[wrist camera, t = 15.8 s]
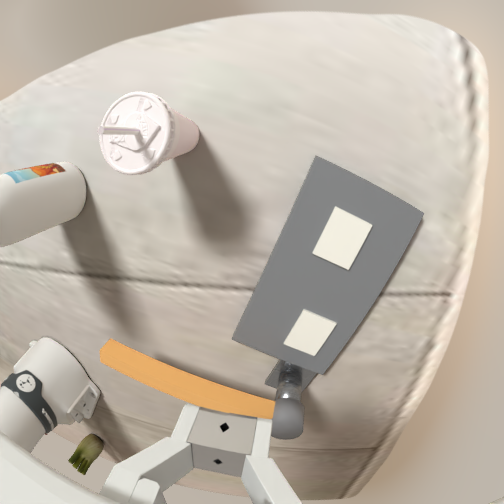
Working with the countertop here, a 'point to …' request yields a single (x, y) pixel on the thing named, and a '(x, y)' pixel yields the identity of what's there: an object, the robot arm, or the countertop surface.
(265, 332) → the tray
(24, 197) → the milk bottle
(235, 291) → the countertop surface
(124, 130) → the smoothie
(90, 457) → the fennel bulb
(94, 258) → the countertop surface
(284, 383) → the pivot post
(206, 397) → the strip
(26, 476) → the robot arm
